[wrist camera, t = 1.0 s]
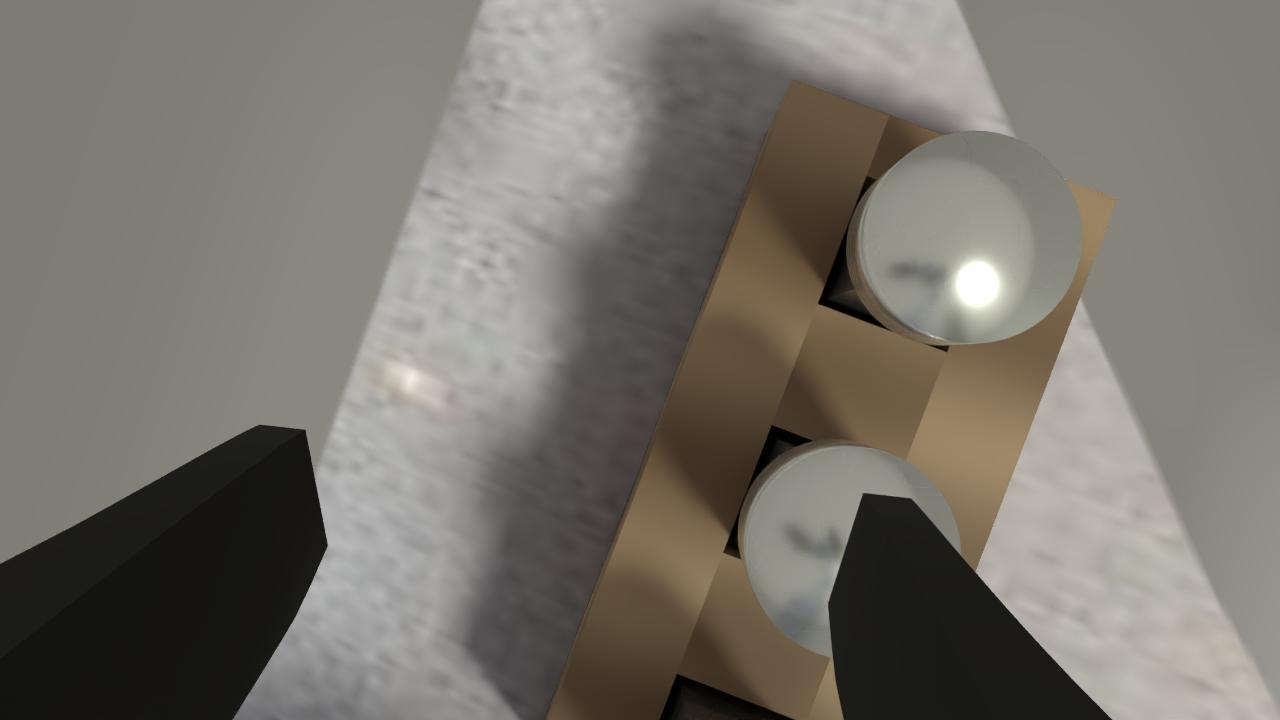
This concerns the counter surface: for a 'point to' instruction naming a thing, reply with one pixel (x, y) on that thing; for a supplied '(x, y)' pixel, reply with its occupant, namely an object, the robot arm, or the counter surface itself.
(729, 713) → the knob
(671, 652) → the block
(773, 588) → the middle knob
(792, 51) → the counter surface
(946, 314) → the knob
